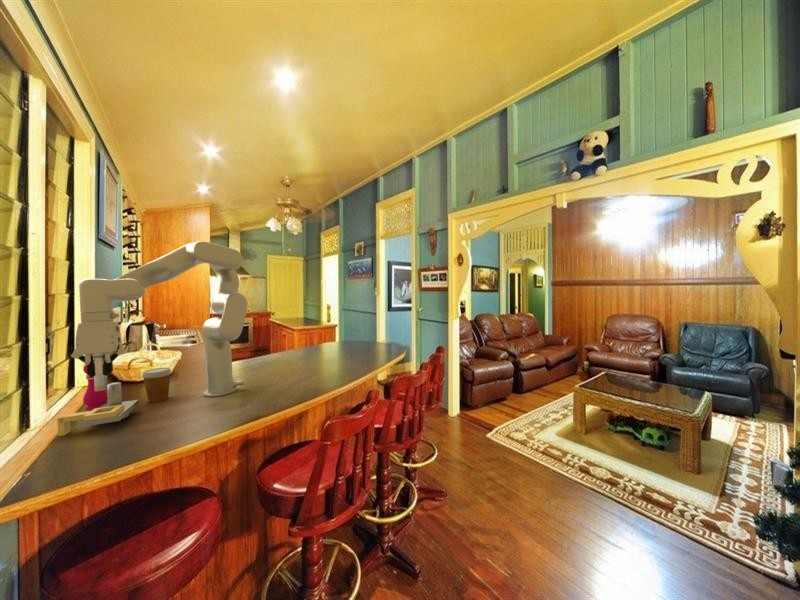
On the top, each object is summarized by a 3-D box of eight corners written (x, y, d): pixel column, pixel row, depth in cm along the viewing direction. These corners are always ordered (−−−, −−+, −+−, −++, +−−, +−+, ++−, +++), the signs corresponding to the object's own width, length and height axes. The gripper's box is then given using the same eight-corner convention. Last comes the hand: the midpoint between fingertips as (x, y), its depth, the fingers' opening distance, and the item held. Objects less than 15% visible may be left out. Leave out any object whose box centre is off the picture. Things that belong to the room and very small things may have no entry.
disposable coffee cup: (172, 400, 124) (170, 370, 124) (141, 406, 119) (139, 374, 119) (174, 394, 132) (172, 366, 132) (145, 399, 127) (143, 369, 127)
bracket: (124, 420, 105) (123, 404, 105) (115, 429, 99) (114, 411, 98) (68, 429, 100) (66, 412, 99) (54, 439, 93) (52, 421, 93)
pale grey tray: (139, 410, 114) (137, 377, 114) (120, 428, 99) (117, 390, 98) (103, 415, 110) (101, 382, 110) (78, 435, 95) (75, 396, 94)
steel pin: (111, 387, 102) (109, 350, 102) (106, 390, 99) (104, 352, 98) (96, 388, 101) (94, 351, 100) (90, 392, 97) (88, 353, 97)
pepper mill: (94, 414, 112) (90, 358, 112) (78, 413, 114) (74, 358, 113) (116, 406, 119) (112, 354, 119) (101, 405, 121) (97, 354, 120)
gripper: (134, 315, 106) (137, 369, 106) (69, 318, 99) (72, 376, 100) (125, 317, 99) (128, 374, 100) (55, 320, 93) (58, 382, 93)
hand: (100, 374), depth 100 cm, fingers closed on steel pin, 3 cm apart
